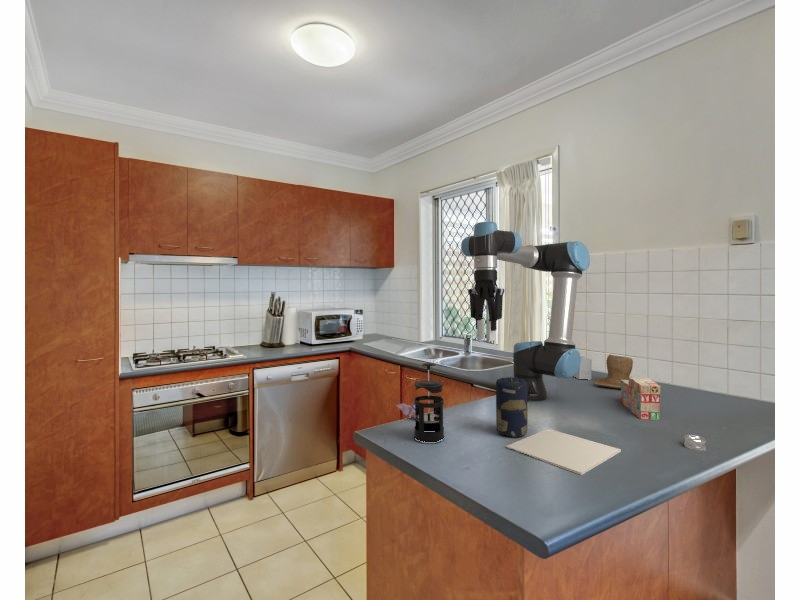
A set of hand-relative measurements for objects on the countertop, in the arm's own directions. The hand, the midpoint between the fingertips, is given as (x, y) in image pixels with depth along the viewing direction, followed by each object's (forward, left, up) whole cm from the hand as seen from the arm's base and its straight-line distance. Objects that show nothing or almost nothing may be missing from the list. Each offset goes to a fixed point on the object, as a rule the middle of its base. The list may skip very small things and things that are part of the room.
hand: (486, 339), depth 133 cm
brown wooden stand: (+5, +85, -29) cm, 90 cm away
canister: (+10, 0, -29) cm, 30 cm away
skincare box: (-15, +93, -29) cm, 99 cm away
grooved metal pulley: (+50, +30, -29) cm, 65 cm away
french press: (-4, -22, -29) cm, 36 cm away
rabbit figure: (-23, -14, -29) cm, 40 cm away
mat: (+27, 0, -29) cm, 39 cm away
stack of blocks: (+26, +55, -29) cm, 67 cm away
